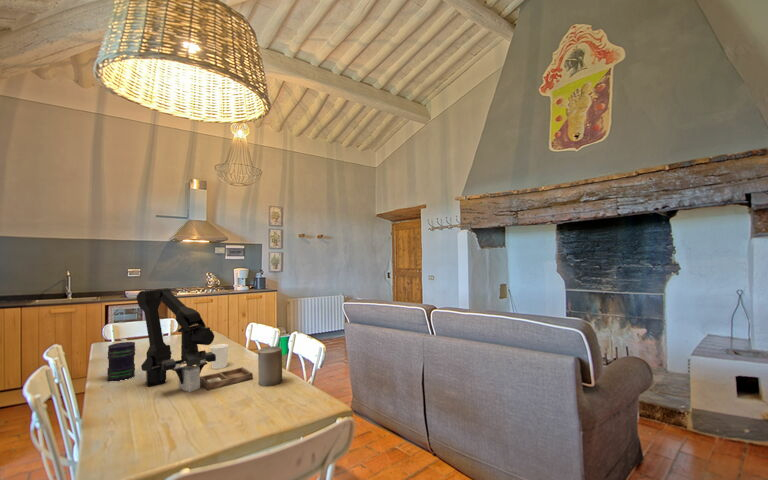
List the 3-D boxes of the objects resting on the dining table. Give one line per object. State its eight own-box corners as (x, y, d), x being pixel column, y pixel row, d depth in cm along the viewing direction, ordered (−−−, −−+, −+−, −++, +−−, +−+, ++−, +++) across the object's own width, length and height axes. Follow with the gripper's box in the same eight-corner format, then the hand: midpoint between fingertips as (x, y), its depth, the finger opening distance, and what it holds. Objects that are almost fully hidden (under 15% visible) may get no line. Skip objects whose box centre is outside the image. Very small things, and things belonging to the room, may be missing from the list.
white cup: (223, 369, 166) (223, 348, 167) (207, 369, 166) (207, 348, 167) (231, 364, 174) (231, 343, 174) (215, 364, 174) (215, 344, 175)
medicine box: (200, 388, 142) (200, 367, 142) (189, 392, 138) (189, 370, 138) (189, 385, 146) (189, 364, 146) (178, 388, 142) (178, 367, 142)
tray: (207, 390, 140) (207, 384, 140) (199, 382, 149) (199, 376, 149) (252, 379, 152) (252, 373, 152) (242, 372, 161) (242, 367, 161)
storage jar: (111, 384, 149) (111, 348, 150) (104, 379, 155) (104, 345, 156) (138, 377, 157) (138, 343, 158) (130, 373, 163) (131, 340, 164)
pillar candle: (285, 378, 152) (285, 343, 153) (276, 386, 142) (276, 349, 143) (264, 377, 153) (264, 343, 154) (253, 386, 143) (253, 349, 144)
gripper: (166, 351, 130) (166, 394, 130) (220, 342, 143) (219, 381, 142) (161, 346, 139) (160, 386, 138) (211, 338, 151) (211, 375, 150)
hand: (189, 382), depth 142 cm, fingers closed on medicine box, 5 cm apart
